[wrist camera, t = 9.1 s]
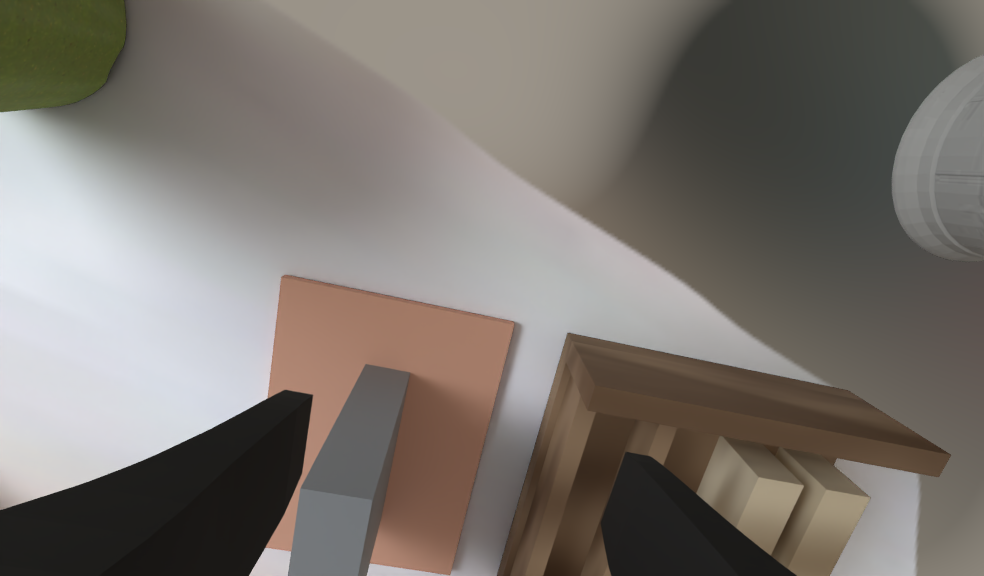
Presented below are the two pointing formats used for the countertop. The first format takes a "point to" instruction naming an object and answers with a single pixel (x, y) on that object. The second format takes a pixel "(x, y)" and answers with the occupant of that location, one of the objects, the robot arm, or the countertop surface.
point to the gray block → (350, 480)
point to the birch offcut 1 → (750, 489)
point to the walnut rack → (672, 440)
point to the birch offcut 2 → (817, 515)
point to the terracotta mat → (426, 413)
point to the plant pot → (57, 50)
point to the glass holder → (945, 168)
